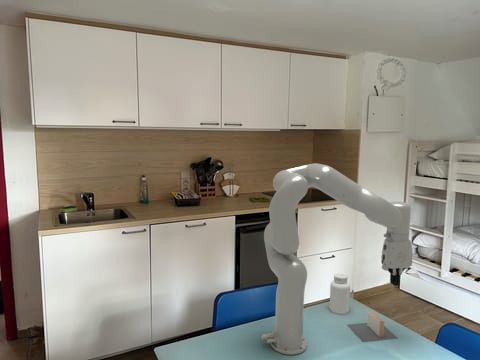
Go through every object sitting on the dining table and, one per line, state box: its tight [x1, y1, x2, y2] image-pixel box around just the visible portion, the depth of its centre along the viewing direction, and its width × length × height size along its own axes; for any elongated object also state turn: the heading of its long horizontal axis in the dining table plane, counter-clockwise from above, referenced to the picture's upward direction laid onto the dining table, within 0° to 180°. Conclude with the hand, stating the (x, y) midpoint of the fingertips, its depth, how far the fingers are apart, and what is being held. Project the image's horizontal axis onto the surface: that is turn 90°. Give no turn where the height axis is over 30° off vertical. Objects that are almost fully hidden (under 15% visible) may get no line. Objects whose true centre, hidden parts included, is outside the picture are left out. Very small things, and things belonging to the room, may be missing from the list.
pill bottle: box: [329, 273, 351, 315], centre depth 153 cm, size 8×8×15 cm
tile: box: [366, 310, 385, 337], centre depth 137 cm, size 2×8×6 cm, turn 11°
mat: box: [346, 322, 399, 343], centre depth 137 cm, size 14×12×1 cm
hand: (394, 284), depth 136 cm, fingers closed
